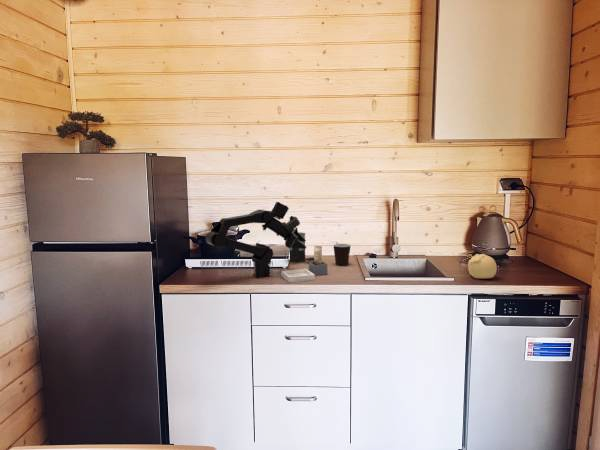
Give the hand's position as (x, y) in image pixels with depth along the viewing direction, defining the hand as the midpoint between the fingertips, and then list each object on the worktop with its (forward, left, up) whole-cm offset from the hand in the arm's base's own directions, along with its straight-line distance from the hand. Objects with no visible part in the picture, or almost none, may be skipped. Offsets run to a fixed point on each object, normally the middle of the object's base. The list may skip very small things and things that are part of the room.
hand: (305, 244), depth 211 cm
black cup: (+23, +9, -14) cm, 29 cm away
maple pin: (+4, -4, -13) cm, 15 cm away
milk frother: (+7, +22, -14) cm, 27 cm away
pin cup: (+4, -4, -13) cm, 15 cm away
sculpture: (+70, -37, -14) cm, 81 cm away
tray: (-7, -9, -13) cm, 18 cm away
